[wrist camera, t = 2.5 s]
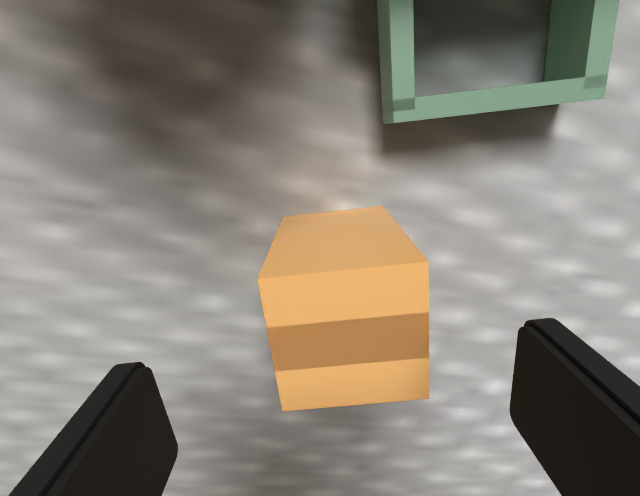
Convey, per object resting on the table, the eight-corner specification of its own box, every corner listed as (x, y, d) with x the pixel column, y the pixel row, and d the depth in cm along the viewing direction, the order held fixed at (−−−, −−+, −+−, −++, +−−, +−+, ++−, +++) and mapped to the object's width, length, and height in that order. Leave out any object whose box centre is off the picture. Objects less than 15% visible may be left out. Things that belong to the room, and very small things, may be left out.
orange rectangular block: (382, 205, 20) (428, 261, 12) (387, 295, 22) (428, 398, 14) (283, 216, 20) (257, 278, 12) (296, 304, 22) (282, 411, 14)
